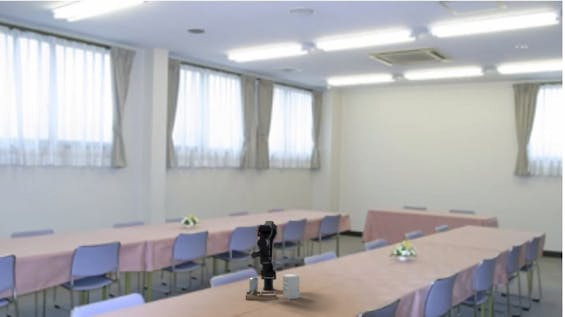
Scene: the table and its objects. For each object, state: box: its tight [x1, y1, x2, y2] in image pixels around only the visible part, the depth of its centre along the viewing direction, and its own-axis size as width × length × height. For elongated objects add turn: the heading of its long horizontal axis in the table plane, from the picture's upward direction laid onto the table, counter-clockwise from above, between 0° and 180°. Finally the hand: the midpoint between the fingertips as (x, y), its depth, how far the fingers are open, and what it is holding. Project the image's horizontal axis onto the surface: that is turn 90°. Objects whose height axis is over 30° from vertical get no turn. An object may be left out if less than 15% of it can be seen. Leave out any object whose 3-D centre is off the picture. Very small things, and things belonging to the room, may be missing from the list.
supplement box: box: [282, 273, 300, 300], centre depth 296 cm, size 7×7×13 cm
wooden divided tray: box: [245, 290, 277, 301], centre depth 294 cm, size 9×17×2 cm, turn 94°
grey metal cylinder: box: [248, 276, 259, 295], centre depth 294 cm, size 5×5×10 cm
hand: (264, 272), depth 302 cm, fingers open, 9 cm apart
